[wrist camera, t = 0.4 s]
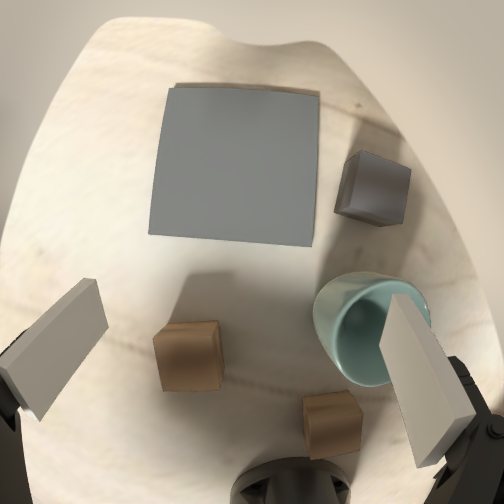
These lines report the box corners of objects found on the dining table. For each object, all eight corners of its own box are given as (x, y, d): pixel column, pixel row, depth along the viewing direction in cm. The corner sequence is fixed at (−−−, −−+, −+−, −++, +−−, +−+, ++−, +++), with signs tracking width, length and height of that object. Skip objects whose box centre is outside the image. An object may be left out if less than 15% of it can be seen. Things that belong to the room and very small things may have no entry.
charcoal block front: (379, 226, 28) (402, 223, 23) (333, 212, 28) (349, 206, 23) (388, 179, 28) (411, 169, 23) (343, 164, 28) (360, 149, 23)
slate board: (309, 247, 28) (311, 247, 27) (151, 234, 28) (148, 234, 27) (316, 100, 28) (318, 96, 27) (171, 92, 28) (169, 88, 27)
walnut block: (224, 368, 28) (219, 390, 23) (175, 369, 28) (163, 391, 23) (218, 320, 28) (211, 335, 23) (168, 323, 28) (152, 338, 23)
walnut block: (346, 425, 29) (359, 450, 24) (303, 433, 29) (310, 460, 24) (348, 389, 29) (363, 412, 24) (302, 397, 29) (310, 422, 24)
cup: (365, 254, 28) (417, 259, 18) (388, 324, 28) (440, 355, 18) (292, 287, 28) (314, 309, 18) (320, 357, 28) (350, 405, 18)
